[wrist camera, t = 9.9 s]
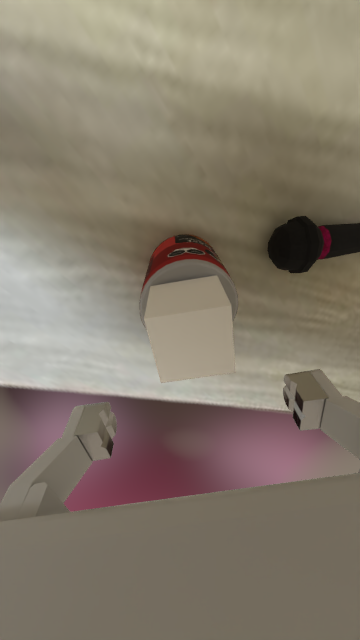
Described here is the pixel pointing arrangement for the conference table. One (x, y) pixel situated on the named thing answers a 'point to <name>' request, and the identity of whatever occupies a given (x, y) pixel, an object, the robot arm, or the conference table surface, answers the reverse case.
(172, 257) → the canned food
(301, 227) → the microphone
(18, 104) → the conference table surface
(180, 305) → the cream cube
